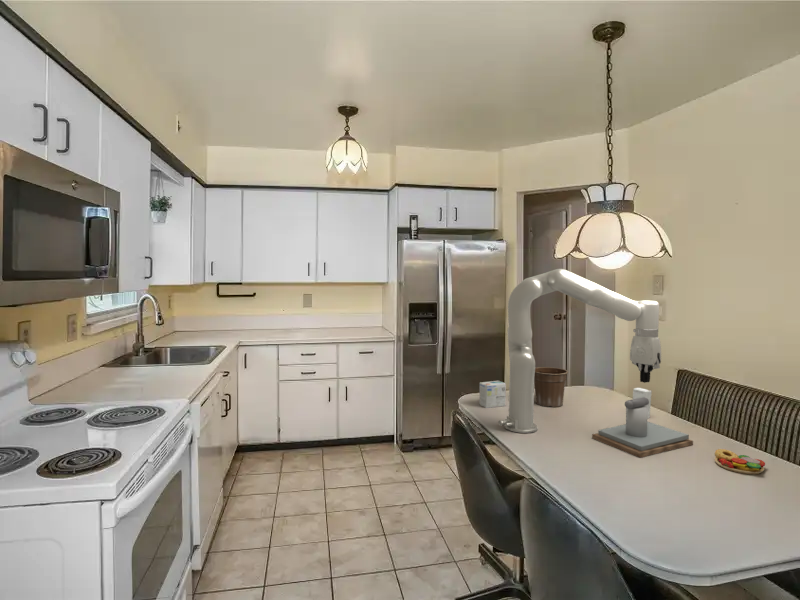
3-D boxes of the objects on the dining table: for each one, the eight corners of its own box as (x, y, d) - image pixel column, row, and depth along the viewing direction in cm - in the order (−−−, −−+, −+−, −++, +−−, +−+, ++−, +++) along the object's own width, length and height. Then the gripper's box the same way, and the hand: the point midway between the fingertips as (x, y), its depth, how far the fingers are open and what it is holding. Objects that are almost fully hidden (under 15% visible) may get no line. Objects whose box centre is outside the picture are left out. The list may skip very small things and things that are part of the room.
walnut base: (639, 457, 154) (640, 453, 154) (592, 438, 172) (592, 434, 172) (692, 444, 166) (693, 440, 166) (642, 427, 184) (643, 424, 184)
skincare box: (631, 415, 199) (632, 388, 199) (637, 414, 202) (638, 387, 201) (644, 419, 194) (645, 391, 193) (650, 418, 196) (651, 390, 196)
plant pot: (524, 403, 218) (524, 369, 217) (543, 397, 229) (543, 365, 228) (555, 411, 206) (555, 375, 205) (573, 404, 217) (574, 370, 216)
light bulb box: (498, 402, 220) (498, 380, 219) (506, 406, 213) (506, 383, 213) (478, 404, 216) (478, 381, 215) (486, 408, 210) (486, 385, 209)
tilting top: (641, 451, 155) (642, 409, 154) (598, 434, 172) (598, 396, 171) (688, 438, 166) (689, 399, 165) (643, 423, 182) (644, 388, 181)
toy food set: (714, 455, 156) (714, 446, 156) (763, 465, 149) (764, 455, 149) (714, 469, 146) (714, 459, 145) (767, 480, 138) (767, 469, 138)
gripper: (622, 331, 177) (620, 378, 178) (658, 336, 163) (656, 387, 164) (635, 330, 180) (634, 376, 181) (672, 335, 166) (670, 385, 167)
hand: (644, 381), depth 172 cm, fingers closed
